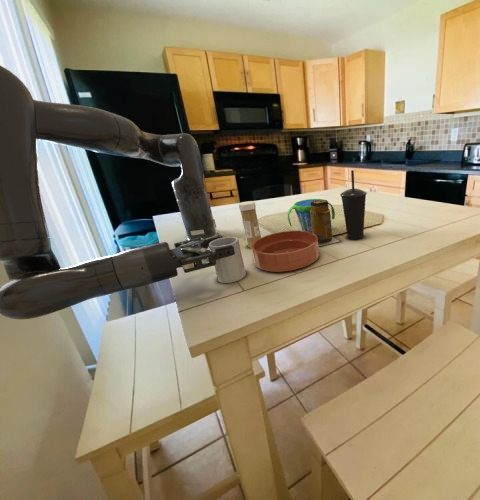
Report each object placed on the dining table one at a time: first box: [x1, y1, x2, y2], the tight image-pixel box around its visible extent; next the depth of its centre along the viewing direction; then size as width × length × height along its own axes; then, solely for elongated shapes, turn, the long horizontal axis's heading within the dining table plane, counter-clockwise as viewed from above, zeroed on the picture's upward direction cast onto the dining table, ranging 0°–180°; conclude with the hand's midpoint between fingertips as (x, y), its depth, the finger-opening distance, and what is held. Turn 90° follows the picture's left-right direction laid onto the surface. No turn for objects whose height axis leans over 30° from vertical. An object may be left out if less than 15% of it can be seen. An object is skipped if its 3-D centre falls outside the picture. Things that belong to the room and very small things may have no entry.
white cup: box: [208, 236, 247, 284], centre depth 63 cm, size 6×6×9 cm
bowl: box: [250, 230, 320, 273], centre depth 71 cm, size 17×17×5 cm
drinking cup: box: [339, 170, 368, 241], centre depth 80 cm, size 8×8×20 cm
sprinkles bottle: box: [238, 200, 262, 249], centre depth 81 cm, size 5×5×13 cm
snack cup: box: [287, 198, 336, 233], centre depth 90 cm, size 16×10×10 cm
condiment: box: [310, 199, 340, 247], centre depth 81 cm, size 7×8×12 cm
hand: (228, 244), depth 62 cm, fingers open, 8 cm apart
